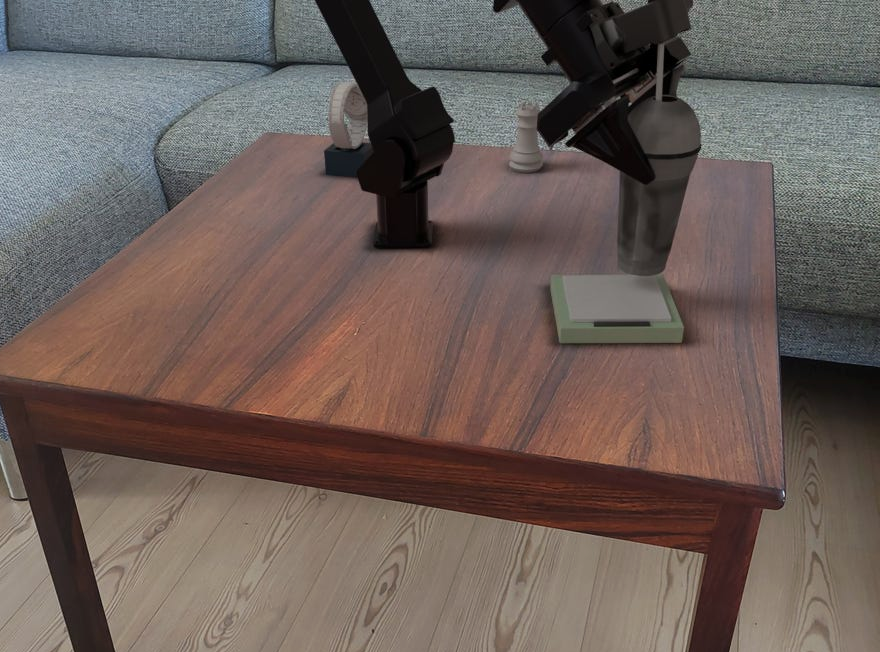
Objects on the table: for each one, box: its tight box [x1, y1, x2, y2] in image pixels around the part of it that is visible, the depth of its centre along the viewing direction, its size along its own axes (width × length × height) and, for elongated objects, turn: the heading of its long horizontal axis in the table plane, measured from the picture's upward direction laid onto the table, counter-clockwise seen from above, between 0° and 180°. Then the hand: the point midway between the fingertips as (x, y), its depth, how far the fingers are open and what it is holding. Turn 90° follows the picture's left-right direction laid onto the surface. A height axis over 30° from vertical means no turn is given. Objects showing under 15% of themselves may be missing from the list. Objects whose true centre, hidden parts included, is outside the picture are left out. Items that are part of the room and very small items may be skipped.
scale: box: [549, 273, 685, 344], centre depth 88 cm, size 11×11×2 cm
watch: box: [323, 81, 374, 178], centre depth 120 cm, size 6×8×11 cm
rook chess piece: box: [508, 101, 544, 174], centre depth 120 cm, size 4×4×8 cm
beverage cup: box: [616, 42, 702, 276], centre depth 83 cm, size 7×7×20 cm
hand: (669, 169), depth 82 cm, fingers closed on beverage cup, 7 cm apart
